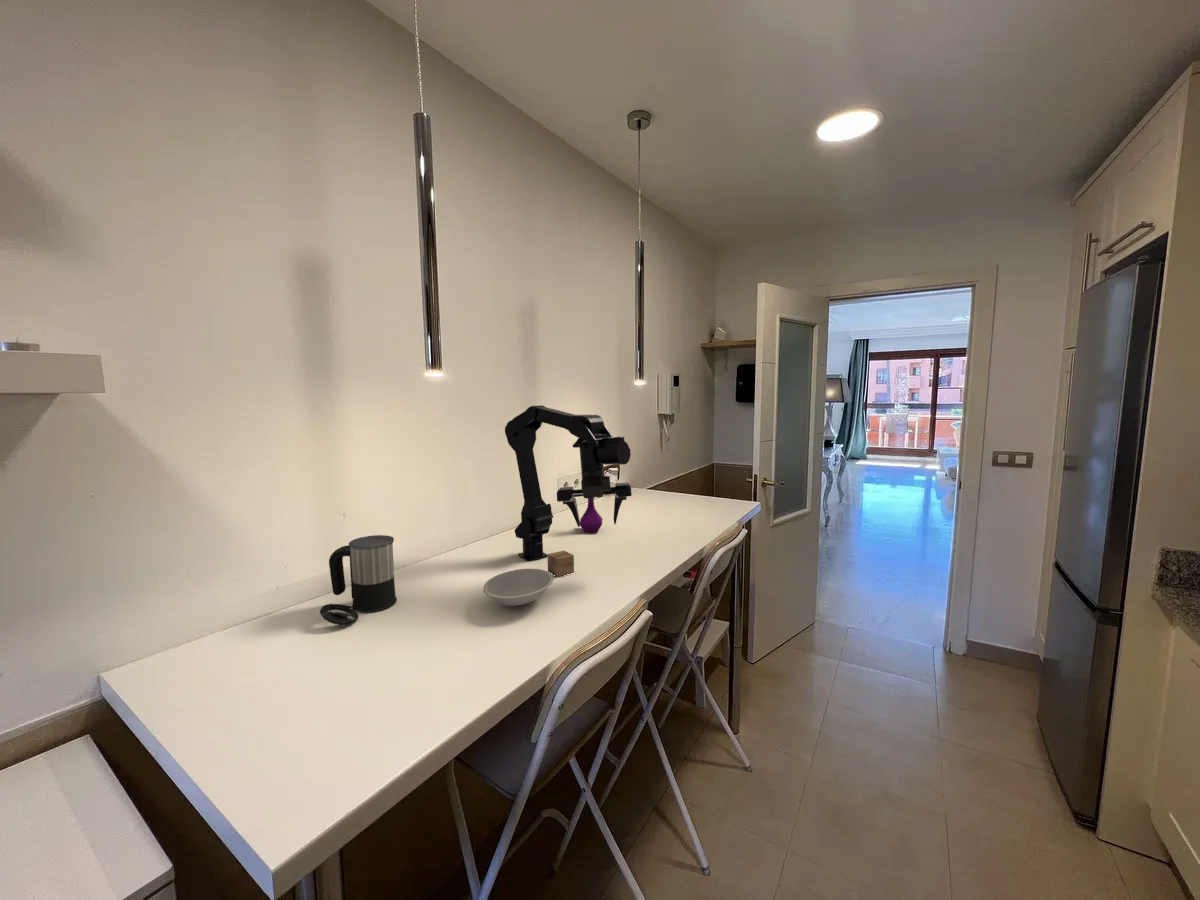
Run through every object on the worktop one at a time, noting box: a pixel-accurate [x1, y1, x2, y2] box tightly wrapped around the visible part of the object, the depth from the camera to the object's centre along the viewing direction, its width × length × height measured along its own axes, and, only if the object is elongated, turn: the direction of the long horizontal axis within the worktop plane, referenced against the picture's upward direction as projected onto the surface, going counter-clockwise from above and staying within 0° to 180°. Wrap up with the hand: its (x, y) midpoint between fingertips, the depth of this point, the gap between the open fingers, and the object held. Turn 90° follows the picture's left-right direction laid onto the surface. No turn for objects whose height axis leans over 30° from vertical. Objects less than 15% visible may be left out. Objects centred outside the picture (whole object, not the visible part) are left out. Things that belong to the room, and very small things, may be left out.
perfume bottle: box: [580, 497, 603, 533], centre depth 169 cm, size 8×8×18 cm
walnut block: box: [547, 550, 575, 578], centre depth 131 cm, size 5×5×5 cm
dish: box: [482, 568, 554, 607], centre depth 113 cm, size 18×14×5 cm
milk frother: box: [319, 534, 398, 627], centre depth 109 cm, size 14×16×15 cm
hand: (596, 525), depth 129 cm, fingers open, 9 cm apart
